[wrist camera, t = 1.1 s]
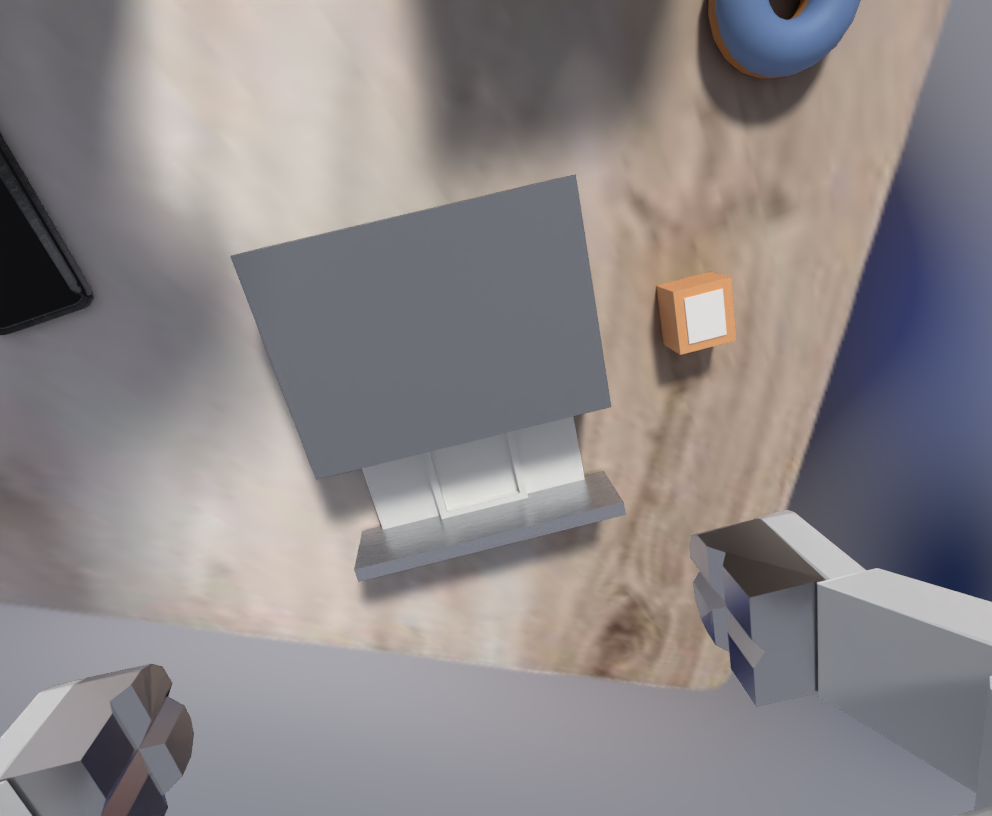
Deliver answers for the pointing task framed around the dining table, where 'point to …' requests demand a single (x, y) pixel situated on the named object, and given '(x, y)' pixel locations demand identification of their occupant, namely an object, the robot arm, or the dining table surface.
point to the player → (432, 326)
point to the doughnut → (778, 34)
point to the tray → (480, 498)
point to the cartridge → (697, 312)
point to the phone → (32, 257)
